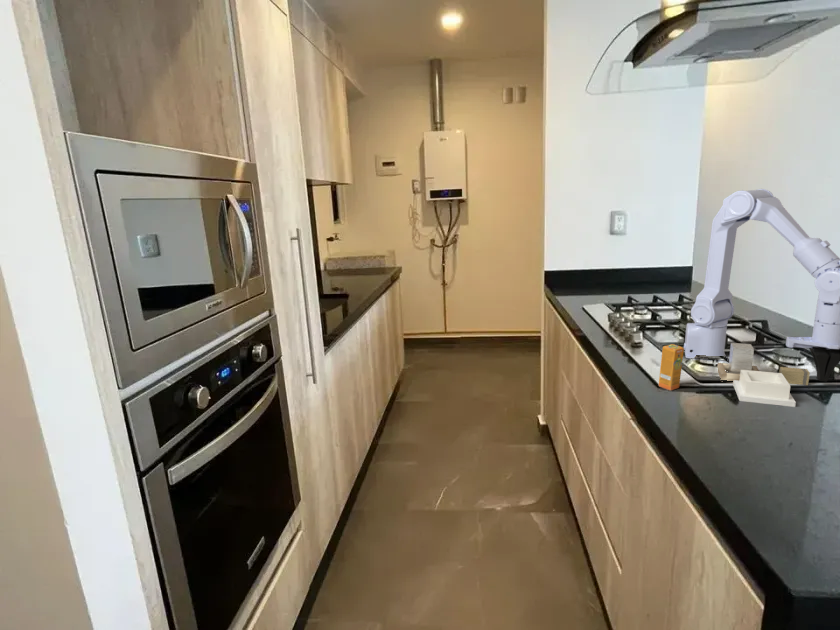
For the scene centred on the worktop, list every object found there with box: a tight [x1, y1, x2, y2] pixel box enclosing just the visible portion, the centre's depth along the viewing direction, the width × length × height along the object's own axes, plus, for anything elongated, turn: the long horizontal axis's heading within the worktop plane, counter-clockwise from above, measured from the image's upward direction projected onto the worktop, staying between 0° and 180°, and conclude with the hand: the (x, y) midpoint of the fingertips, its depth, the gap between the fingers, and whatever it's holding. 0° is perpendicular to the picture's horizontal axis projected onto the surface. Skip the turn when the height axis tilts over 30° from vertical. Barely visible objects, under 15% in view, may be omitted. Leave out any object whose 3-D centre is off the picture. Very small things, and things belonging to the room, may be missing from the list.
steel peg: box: [727, 342, 755, 374], centre depth 113 cm, size 4×4×8 cm
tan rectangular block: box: [778, 366, 810, 386], centre depth 110 cm, size 5×2×3 cm, turn 65°
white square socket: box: [732, 370, 797, 408], centre depth 104 cm, size 10×10×4 cm
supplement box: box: [658, 343, 685, 391], centre depth 110 cm, size 3×3×10 cm
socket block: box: [716, 362, 760, 381], centre depth 114 cm, size 8×8×2 cm
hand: (821, 379), depth 107 cm, fingers closed
